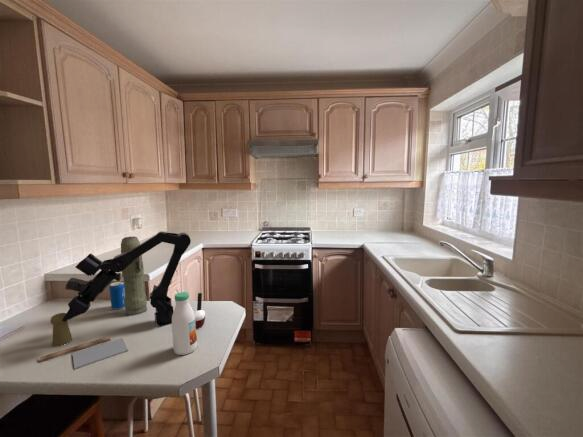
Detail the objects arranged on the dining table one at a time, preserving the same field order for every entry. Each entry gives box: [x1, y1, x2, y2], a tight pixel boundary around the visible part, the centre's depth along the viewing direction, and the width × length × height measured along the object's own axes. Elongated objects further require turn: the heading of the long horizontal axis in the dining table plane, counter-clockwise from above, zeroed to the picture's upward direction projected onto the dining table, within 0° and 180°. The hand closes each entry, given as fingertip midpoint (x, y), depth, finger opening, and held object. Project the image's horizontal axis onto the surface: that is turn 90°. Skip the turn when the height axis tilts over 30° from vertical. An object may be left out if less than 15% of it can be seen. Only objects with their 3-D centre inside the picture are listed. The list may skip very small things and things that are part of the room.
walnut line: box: [39, 335, 112, 363], centre depth 101 cm, size 20×2×1 cm, turn 130°
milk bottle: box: [171, 291, 198, 356], centre depth 98 cm, size 8×8×20 cm
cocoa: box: [194, 292, 206, 329], centre depth 115 cm, size 10×6×12 cm, turn 155°
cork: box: [49, 312, 73, 347], centre depth 106 cm, size 6×6×11 cm
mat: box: [72, 337, 129, 370], centre depth 98 cm, size 15×11×1 cm
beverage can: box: [109, 281, 125, 311], centre depth 136 cm, size 6×6×12 cm
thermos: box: [120, 236, 148, 316], centre depth 130 cm, size 9×12×35 cm
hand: (67, 315), depth 106 cm, fingers open, 9 cm apart
